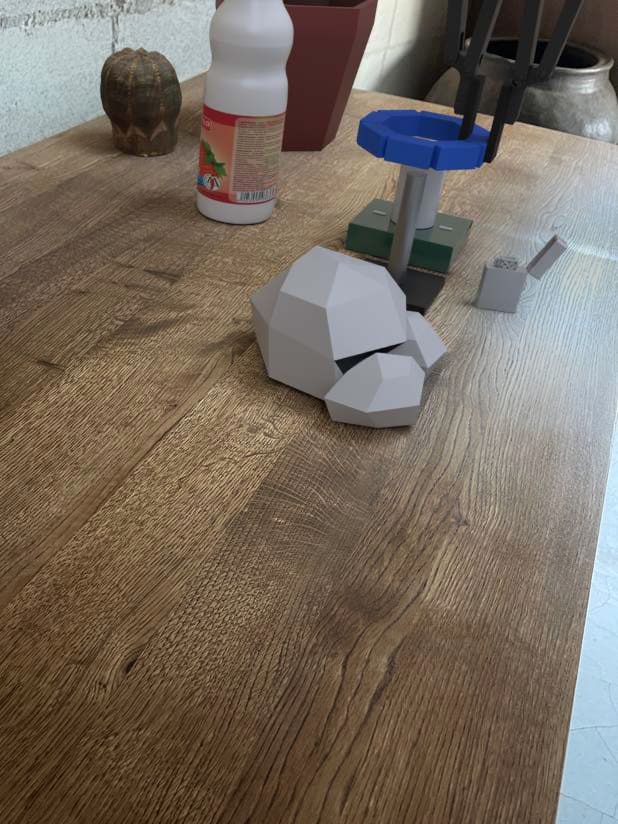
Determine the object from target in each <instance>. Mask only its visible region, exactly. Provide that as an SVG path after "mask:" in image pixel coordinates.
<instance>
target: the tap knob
mask: <svg viewBox="0 0 618 824" xmlns="http://www.w3.org/2000/svg"><path fill="white" fill-rule="evenodd" d="M411 137H416V138H421V139H426V140H430V141H436V140H431V139H427V138H422V137H417V136H411ZM411 170H416V171H422V172H424V173H426V174H427V175H428V176H427V181H426V185H425V190H424V194H423V199H422V203H421V208H420V212H419V217H418V221H417V226H416V229H426V228H430V227H432V226H433V225H434V223H435V219H436V215H437V212H439V211H438V210H439V206H440V202H441V197H442V193H443V189H444V186H445V185H444V184H445V180H446V176H447V171H448V170H446V171H435V170H434V169H432V168H431V167H430V168H429V169H428V170H426V169H421V168H416V167H412V166H407V165H402V164H400V168H399V173H398V178H397V183H396V186H395V187H396V188H395V193H394V197H393V201H392V202H393V207H392V212H391V220H392V221H393V222H395V223H397V218H398V214H399V209H400V204H401V199H402V194H403V190H404V185H405V180H406V175H407V172H408V171H411Z"/></svg>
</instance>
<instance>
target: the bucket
mask: <svg viewBox="0 0 618 824" xmlns="http://www.w3.org/2000/svg"><path fill="white" fill-rule="evenodd" d="M223 1H224V0H215V1H214V2H215V3H214V5H215V6H214V7H215V11H216V10H217V9H218V7H219V6H220V5H221V4H222V3H223ZM282 1H283V4H284V6H285V8H286V10H287V12H288V14H289V16H290V18H291V21H292V24H293V30H294V35H293V45H292V49H291V52H290V54H289V57H288V60H287V62H286V68H285V69H286V76H287V80H288V97H287V108H286V114H285V122H284V130H283V139H282V147H281V152H300V151H301V152H305V151H307V152H310V151H311V152H313V151H319V152H321V151H322V150H324V149H325V148H326V147H327V146H328V145H329V144H330V143H331V142H332V141H334V140H335V139H336V137H337V134H338V131H339V129H340V128H339V127H340V125H341V122H342V120H343V117H344V114H345V110H346V107H347V104H348V102H349V99H350V95H351V92H352V90H353V87H354V84H355V81H356V79H357V75H358V73H359V69H360V66H361V63H362V60H363V57H364V56H365V55H364V54H365V52H366V49H367V46H368V43H369V40H370V37H371V34H372V31H373V29H374V25H375V22H376V21H375V20H376V15H377V9H378V5H379V4H378V3H379V0H282Z"/></svg>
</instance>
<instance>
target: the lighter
mask: <svg viewBox="0 0 618 824" xmlns="http://www.w3.org/2000/svg"><path fill="white" fill-rule="evenodd" d="M568 248H569V245H568V242H567V241H566V240H565V239H563V238H562V237H561V236H559V235H558V234H553V236H552V237H551V238H550V239H549V240H548V241H547V243H546V244H545V245H544V246H543V247H542V248H541V249H540V250H539V252H538V253H537V254H536V255H535V256H534V257H533V258H532V259H531V261H530V262H529V263H528V264H527V265H526V266H522V265H519V263H520V259H519V257H517V256H511V255H503V254H500V256H497V257H495V258H494V259H493V261H485V262H484V265H483V269H482V273H481V277H480V278H479V279H480V280H479V283H478V287H477V290H476V293H475V294H476V295H475V297H474V301H473V302H474V307H475V308H477V309H482V310H483V309H484V310H491V311H498V312H504V313H510V314H516V312H517V309H518V306H519V302H520V299H521V296H522V293H523V290H524V287H525V283H526V281H527V277H528V275H530V276H531V277H533V278H534V279H535V280H537V281H540V279H542V277H543V276H544V275H545V274H546V273H547V272H548V271H549V270H550V269H551V267H552V266H553V265H554V264H555V263H556V262H557V261H558V259H559V258H560V257H562V255H563V254H564V253H565V252H566V251H567V250H568Z"/></svg>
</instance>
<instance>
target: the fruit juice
mask: <svg viewBox="0 0 618 824" xmlns="http://www.w3.org/2000/svg"><path fill="white" fill-rule="evenodd" d="M293 35H294V30H293V24H292V21H291V18H290V16H289V14H288V12H287V10H286V8H285V6H284V4H283V1H282V0H224V1H223V3H222V4H221V5H220V6H219V7H218V9H217V10H216V9H215V12H214V13H213V15H212V17H211V20H210V24H209V31H208V41H209V47H210V48H209V49H210V53H211V61H210V65H209V67H208V69H207V71H206V75H205V80H204V86H203V94H202V112H201V126H200V141H199V153H198V169H197V183H196V184H197V185H196V186H197V187H196V198H195V199H196V206H197V210H198V212H200V213H201V214H202V215H203V216H205V217H206V218H208V219H211V220H214V221H217V222H221V223H226V224H233V225H251V224H259V223H261V222H264V221H267V220H269V218H271V216H272V215H273V212H274V208H275V204H276V194H277V187H278V179H279V171H280V164H281V163H280V162H281V154H282V151H281V147H282V139H283V130H284V122H285V114H286V108H287V97H288V80H287V76H286V69H285V68H286V62H287V60H288V57H289V54H290V52H291V49H292V45H293Z"/></svg>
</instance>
